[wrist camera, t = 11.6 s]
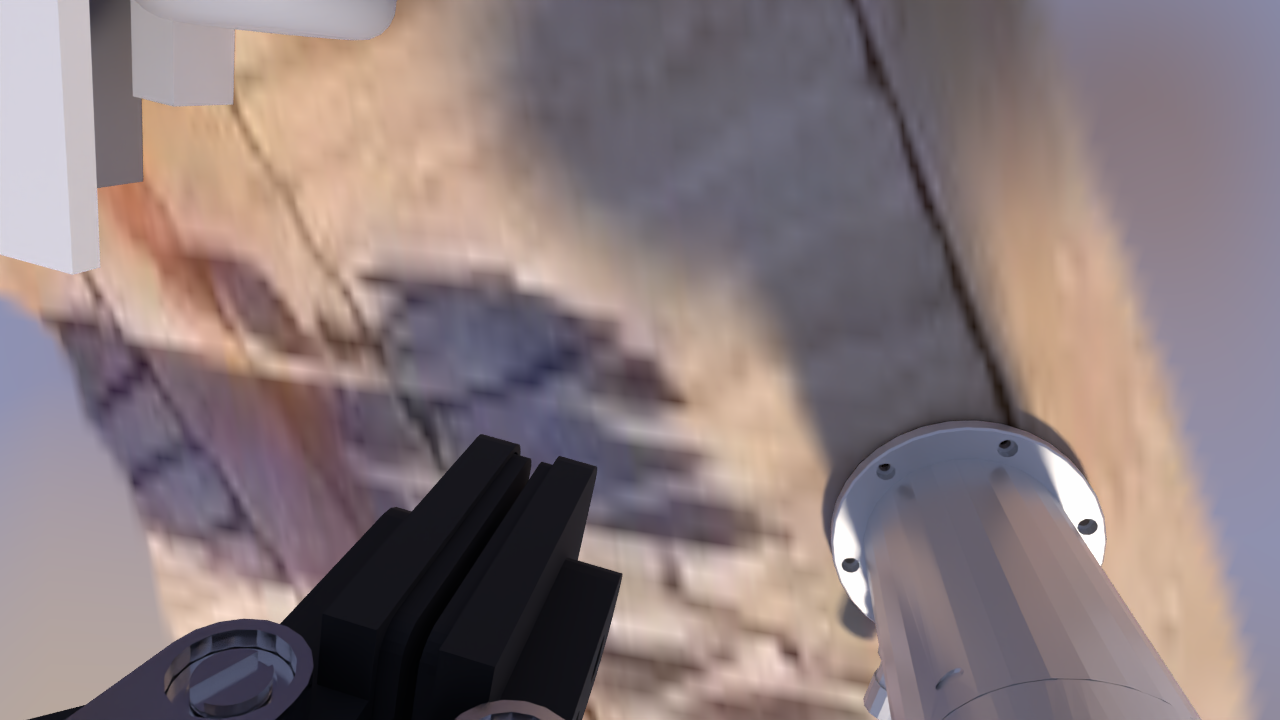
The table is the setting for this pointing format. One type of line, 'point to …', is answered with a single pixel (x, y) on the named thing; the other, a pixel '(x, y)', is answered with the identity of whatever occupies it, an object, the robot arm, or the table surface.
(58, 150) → the ledge cabinet
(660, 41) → the table surface
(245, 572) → the table surface
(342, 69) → the table surface
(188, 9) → the donut
